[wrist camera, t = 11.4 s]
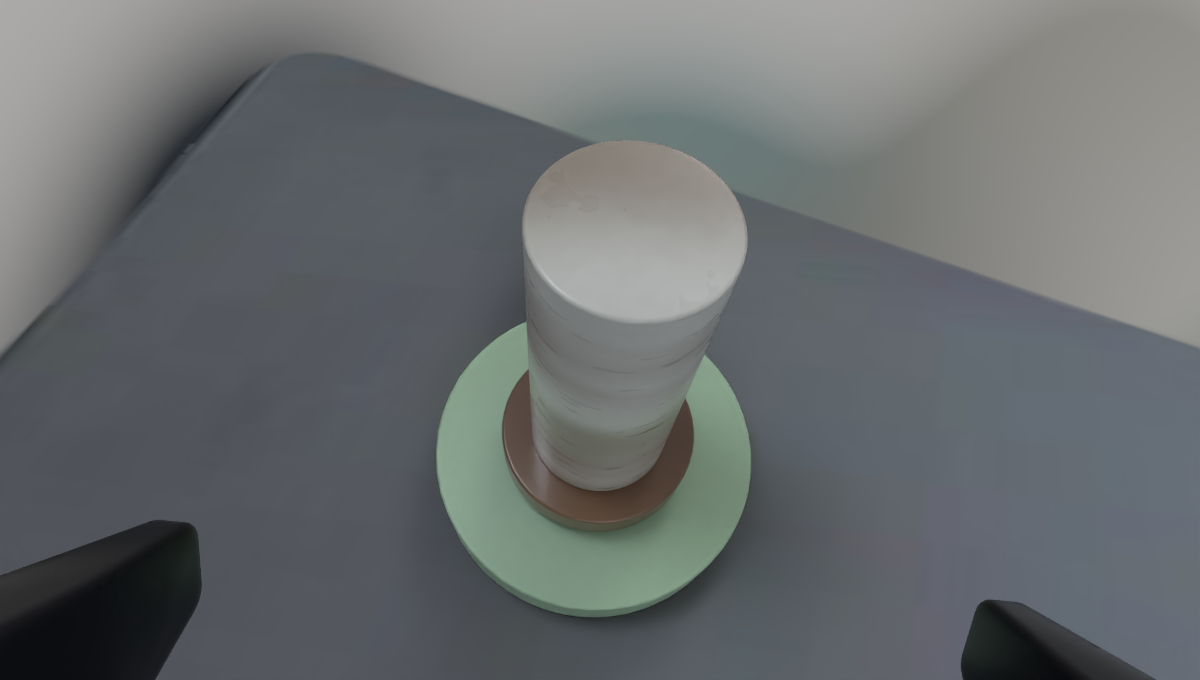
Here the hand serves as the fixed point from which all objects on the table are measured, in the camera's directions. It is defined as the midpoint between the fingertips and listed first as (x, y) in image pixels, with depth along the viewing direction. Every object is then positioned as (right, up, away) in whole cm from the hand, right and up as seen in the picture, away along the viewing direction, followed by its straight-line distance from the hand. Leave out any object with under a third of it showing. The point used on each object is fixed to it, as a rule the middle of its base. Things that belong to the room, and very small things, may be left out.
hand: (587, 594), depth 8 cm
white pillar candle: (0, +3, +13) cm, 13 cm away
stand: (0, -1, +13) cm, 13 cm away
